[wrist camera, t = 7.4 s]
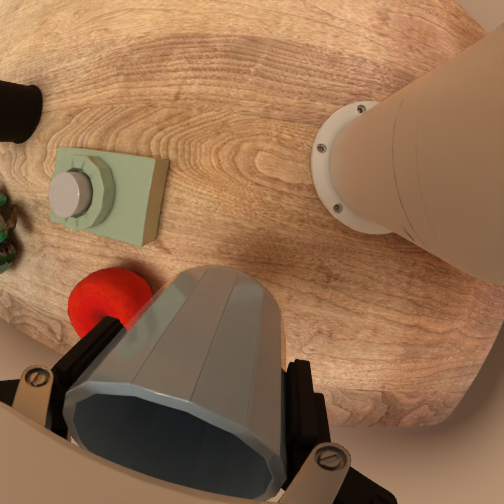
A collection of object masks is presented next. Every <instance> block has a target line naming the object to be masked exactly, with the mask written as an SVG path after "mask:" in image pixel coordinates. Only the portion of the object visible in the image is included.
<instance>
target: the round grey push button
mask: <svg viewBox="0 0 504 504" xmlns="http://www.w3.org/2000/svg"><path fill="white" fill-rule="evenodd" d="M91 200H92V185H91V182H90V180H89V178H88V177H87V176H86V175H85V174H84V173H83V172H80V171H68V172H61V173H59V174H57V175H56V176H55V177H54V178H53V180H52V181H51V184H50V187H49V202H50V206H51V208H52V210H53V211H54V213H55V214H56V215H58V216H59V217H63V218H67V217H71V216H74V215H78V214H81V213H83V212H84V211H86V209H87V208H88V207H89V205H90V203H91Z"/></svg>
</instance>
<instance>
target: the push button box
mask: <svg viewBox="0 0 504 504" xmlns="http://www.w3.org/2000/svg"><path fill="white" fill-rule="evenodd" d="M169 161H170V160H167V159H161V158H155V157H148V156H142V155H135V154H128V153H121V152H114V151H106V150H98V149H89V148H79V147H61V146H59V147H58V150H57V156H56V163H55V170H54V174H53V176H52V178H51V181H52V180H53V178H54V177H55V176H56V175H57V174H59V173H61V172H68V171H80V172H83V173H84V174H85V175H86V176H87V177H88V178H89V180H90V182H91V185H92V200H91V203H90V205H89V207H88V208H87V209H86V211H84V212H83V213H81V214H78V215H74V216H71V217H67V218H63V217H59V216H58V215H56V214H55V213H54V211H53V210H52V208H51V214H50V221H52V222H55V223H58V224H62V225H63V226H64V227H65V228H68V229H71V230H75V231H81V230H82V231H86V232H89V233H93V234H96V235H100V236H103V237H107V238H110V239H114V240H117V241H121V242H125V243H128V244H132V245H135V246H139V247H143V246H144V245H146V244H148V243H149V242H151V241H153V240H155V239H156V236H157V229H158V222H159V216H160V210H161V204H162V198H163V192H164V187H165V181H166V176H167V171H168V166H169Z"/></svg>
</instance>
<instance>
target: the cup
mask: <svg viewBox="0 0 504 504" xmlns="http://www.w3.org/2000/svg"><path fill="white" fill-rule="evenodd" d="M62 414H63V417H64V420H65V422H66V424H67V427H68V429H69V431H70V434H71V436H72V438H73V439H74V440H75V441H76V443H77V444H78V445H79V446H80V447H81V448H83V449H85V450H87V451H89V452H91V453H93V454H95V455H98V456H100V457H102V458H104V459H107V460H109V461H111V462H114V463H116V464H118V465H121V466H123V467H126V468H129V469H131V470H134V471H137V472H139V473H142V474H145V475H148V476H151V477H154V478H157V479H160V480H164V481H167V482H170V483H174V484H177V485H181V486H185V487H189V488H193V489H197V490H201V491H206V492H211V493H215V494H221V495H226V496H232V497H238V498H245V499H252V500H260V501H266V500H269V499H271V498H273V497H275V496H276V495H277V493H278V492H279V490H280V488H281V487H282V486H283V484H284V483H285V481H286V479H287V391H286V337H285V331H284V322H283V317H282V313H281V310H280V308H279V306H278V303H277V302H276V300H275V299H274V297H273V296H272V294H271V293H270V292H269V291H268V290H267V289H266V288H265V287H264V286H263V285H262V284H261V283H260V282H258V281H257V280H256V279H254V278H253V277H251V276H249V275H247V274H246V273H244V272H241V271H239V270H236V269H233V268H229V267H225V266H217V265H205V266H197V267H194V268H190V269H187V270H185V271H183V272H181V273H179V274H177V275H176V276H174V277H173V278H172V279H171V280H169V281H168V282H167V283H166V284H165V285H163V286H162V287H161V288H160V289H159V290H158V291H157V292H156V293H155V294H154V295H153V296H152V297H151V298H150V300H149V301H148V302H147V303H146V304H145V305H144V306H143V307H142V308H141V309H140V310H139V311H138V312H137V313H136V314H135V316H134V317H133V318H132V319H131V320H130V321H129V322H128V323H127V324H126V325H125V326H124V327H123V329H122V330H121V331H120V332H119V333H118V334H117V335H116V336H115V337H114V338H113V340H112V341H111V342H110V343H109V344H108V345H107V346H106V347H105V348H104V350H103V351H102V352H101V353H100V354H99V355H98V356H97V357H96V359H95V360H94V361H93V362H92V363H91V364H90V365H89V367H88V368H87V369H86V370H85V371H84V372H83V373H82V375H81V376H80V377H79V378H78V379H77V380H76V382H75V383H74V384H73V385H72V386H71V387H70V389H69V390H68V391H67V392H66V395H65V400H64V406H63V412H62Z"/></svg>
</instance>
